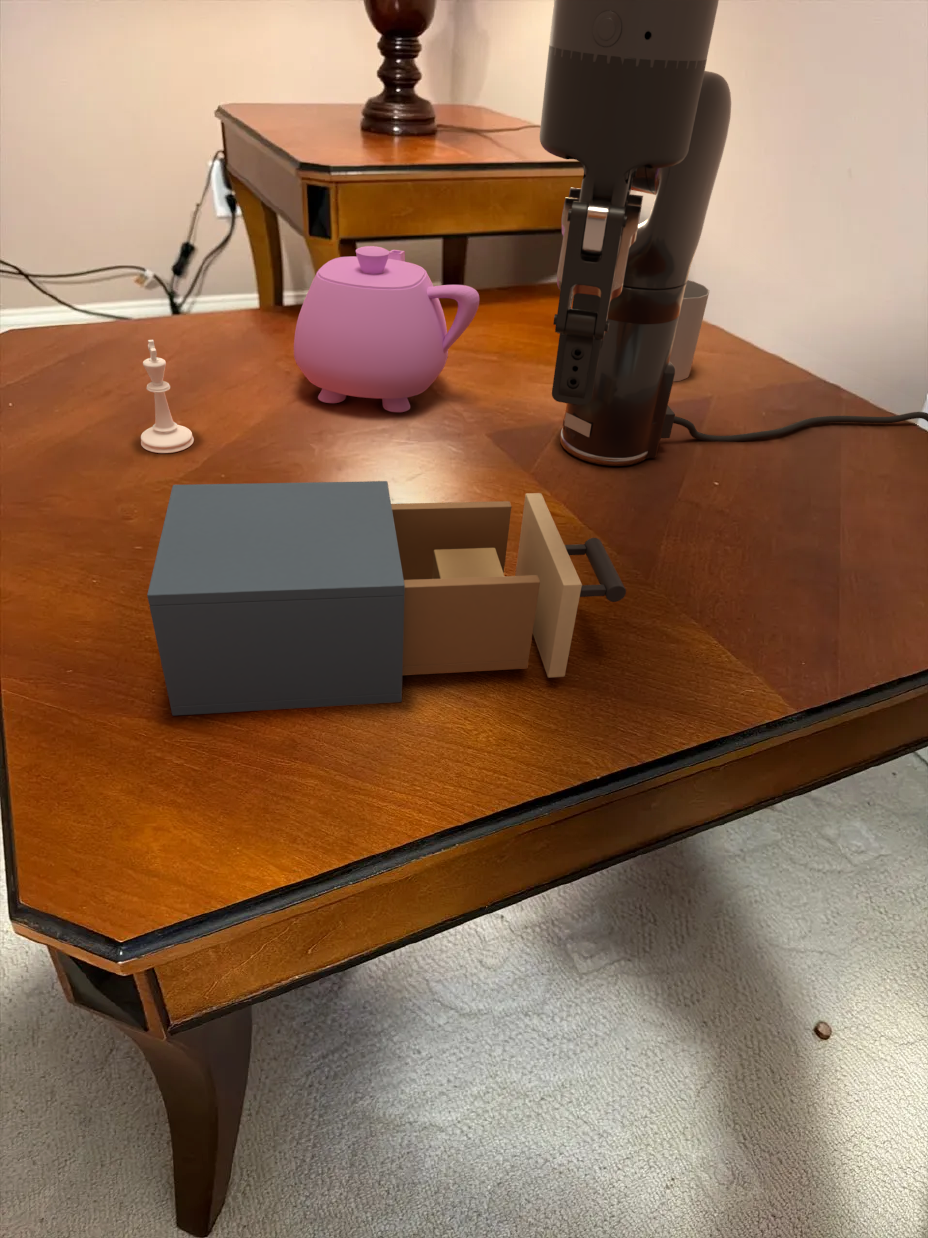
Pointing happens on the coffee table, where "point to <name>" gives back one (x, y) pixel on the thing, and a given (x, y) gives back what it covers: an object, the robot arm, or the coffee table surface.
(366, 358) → the teapot
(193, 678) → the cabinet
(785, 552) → the coffee table surface
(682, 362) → the cup
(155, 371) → the chess piece
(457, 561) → the block
